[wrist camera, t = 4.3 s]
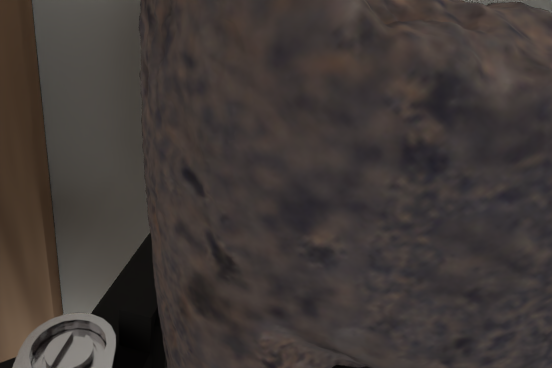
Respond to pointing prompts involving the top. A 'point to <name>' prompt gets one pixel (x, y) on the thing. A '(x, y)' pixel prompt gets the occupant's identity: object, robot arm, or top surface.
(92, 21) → the top surface
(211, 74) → the perforated stone tool
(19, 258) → the box
